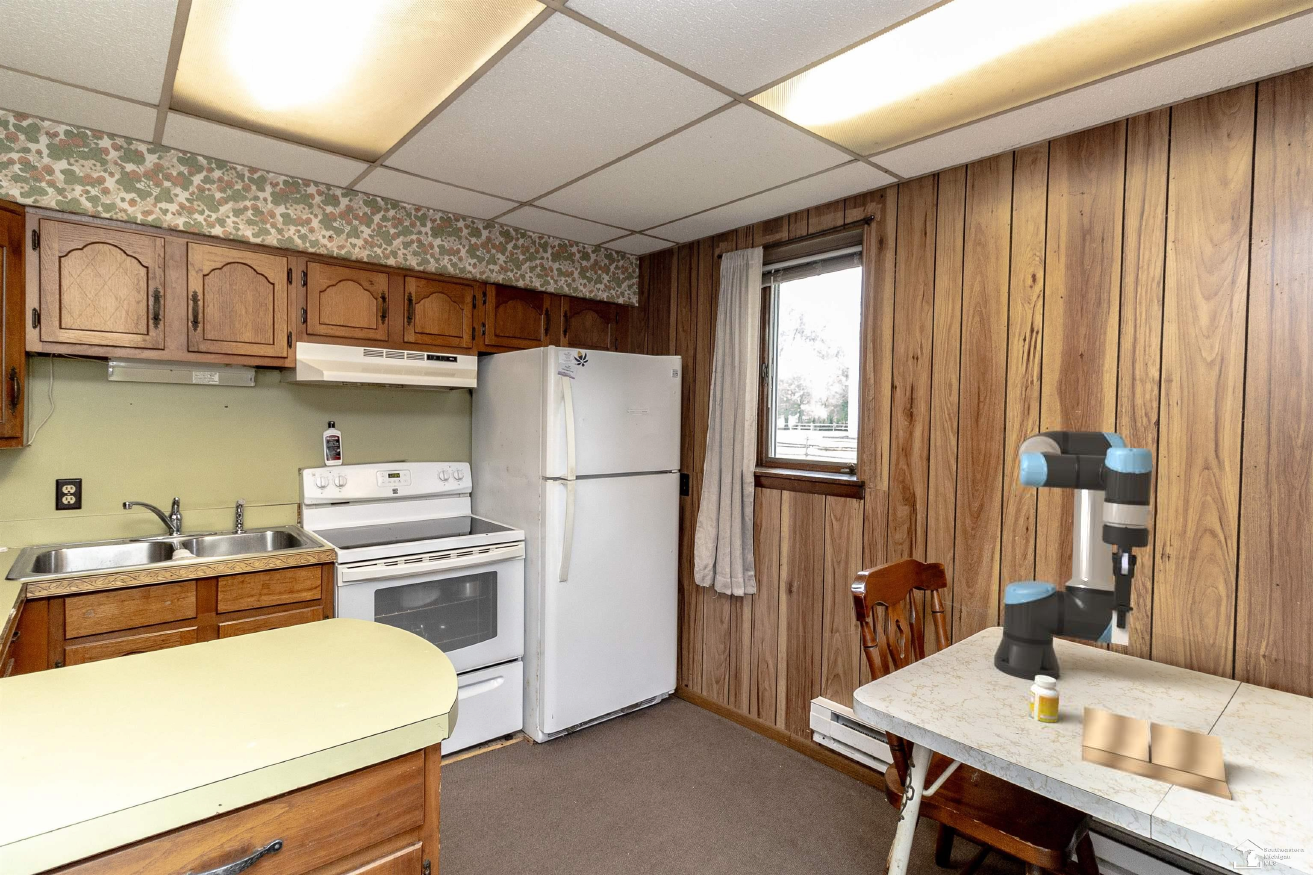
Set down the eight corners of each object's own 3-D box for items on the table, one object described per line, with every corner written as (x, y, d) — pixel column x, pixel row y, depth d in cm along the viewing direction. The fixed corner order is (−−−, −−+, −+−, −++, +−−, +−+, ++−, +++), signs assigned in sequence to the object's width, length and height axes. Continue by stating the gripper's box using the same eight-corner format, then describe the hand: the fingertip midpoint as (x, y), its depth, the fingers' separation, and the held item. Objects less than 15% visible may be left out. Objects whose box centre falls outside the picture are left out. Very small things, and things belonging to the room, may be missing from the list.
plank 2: (1151, 767, 124) (1152, 762, 123) (1150, 726, 130) (1150, 721, 129) (1224, 786, 118) (1225, 781, 117) (1219, 742, 124) (1220, 737, 123)
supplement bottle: (1023, 718, 144) (1025, 675, 144) (1039, 714, 146) (1041, 672, 146) (1047, 729, 139) (1049, 684, 139) (1063, 725, 141) (1065, 681, 141)
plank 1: (1082, 749, 130) (1082, 744, 129) (1084, 711, 136) (1084, 706, 135) (1148, 766, 124) (1148, 761, 123) (1147, 725, 130) (1147, 721, 129)
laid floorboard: (1081, 763, 124) (1081, 756, 124) (1081, 752, 129) (1082, 745, 129) (1230, 804, 112) (1231, 796, 112) (1225, 790, 117) (1225, 782, 117)
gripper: (1151, 530, 123) (1145, 656, 123) (1147, 524, 134) (1141, 639, 134) (1103, 526, 127) (1096, 647, 127) (1102, 520, 138) (1097, 631, 138)
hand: (1119, 643), depth 131 cm, fingers closed
